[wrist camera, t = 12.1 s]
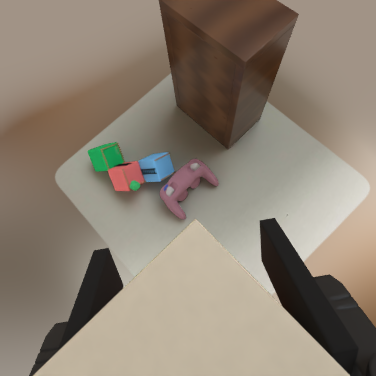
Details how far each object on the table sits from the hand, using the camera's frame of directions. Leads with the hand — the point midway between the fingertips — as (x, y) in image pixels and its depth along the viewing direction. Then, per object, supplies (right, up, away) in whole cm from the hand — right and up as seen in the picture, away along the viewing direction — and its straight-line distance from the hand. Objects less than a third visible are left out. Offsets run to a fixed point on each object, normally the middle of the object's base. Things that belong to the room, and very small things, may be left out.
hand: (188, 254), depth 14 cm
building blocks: (-10, +7, +36) cm, 38 cm away
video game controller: (0, +3, +34) cm, 34 cm away
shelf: (+6, +18, +38) cm, 43 cm away
